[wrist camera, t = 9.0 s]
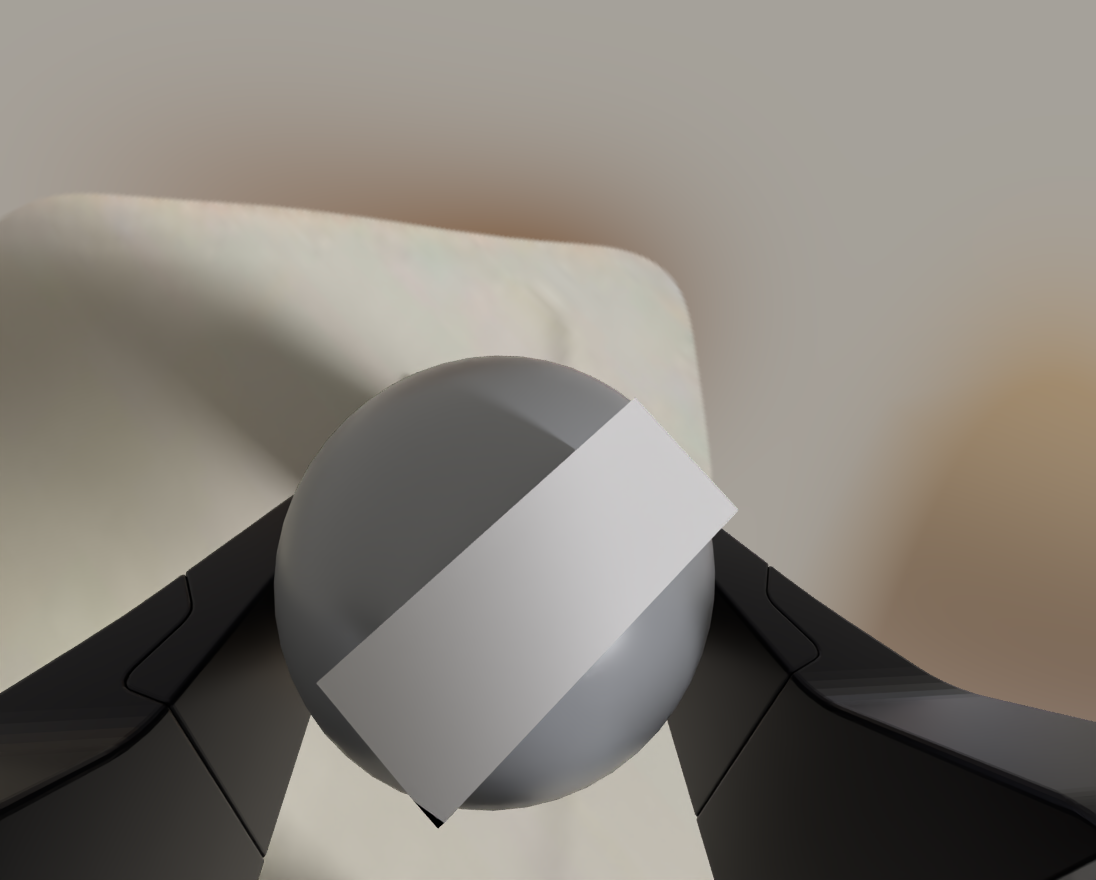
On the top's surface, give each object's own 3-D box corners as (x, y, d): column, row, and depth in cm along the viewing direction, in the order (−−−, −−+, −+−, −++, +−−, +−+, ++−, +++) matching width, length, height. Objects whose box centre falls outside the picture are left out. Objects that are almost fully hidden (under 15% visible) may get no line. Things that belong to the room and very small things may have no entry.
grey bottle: (478, 661, 15) (497, 1743, 2) (376, 541, 15) (-378, 556, 2) (591, 551, 16) (1154, 608, 3) (494, 441, 16) (573, 9, 3)
